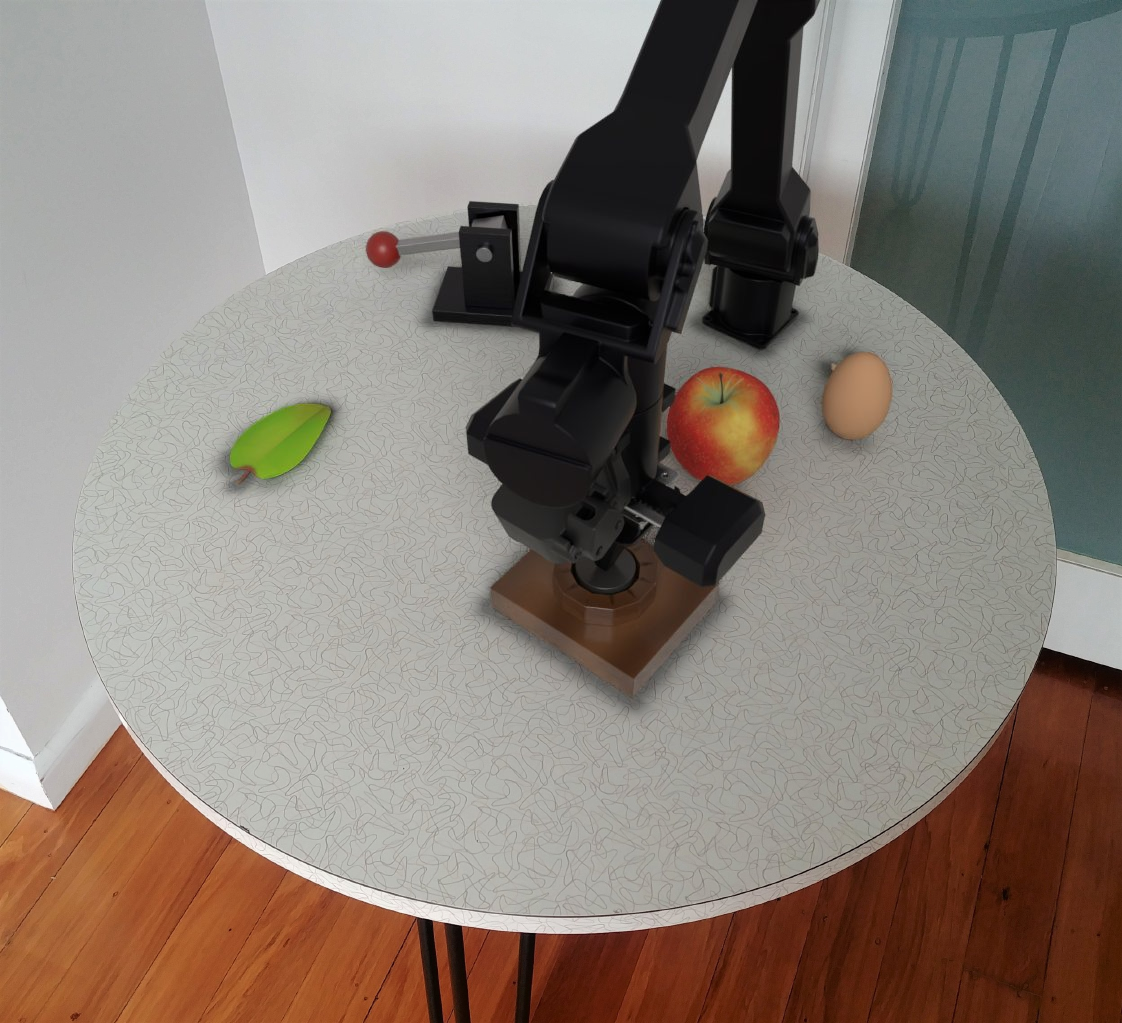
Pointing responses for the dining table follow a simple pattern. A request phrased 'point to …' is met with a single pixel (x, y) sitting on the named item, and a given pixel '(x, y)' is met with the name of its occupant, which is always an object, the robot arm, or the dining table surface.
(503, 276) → the bracket
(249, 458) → the decorative leaf
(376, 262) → the switch
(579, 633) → the button block
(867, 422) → the egg
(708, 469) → the apple
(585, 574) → the button
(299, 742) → the dining table surface
